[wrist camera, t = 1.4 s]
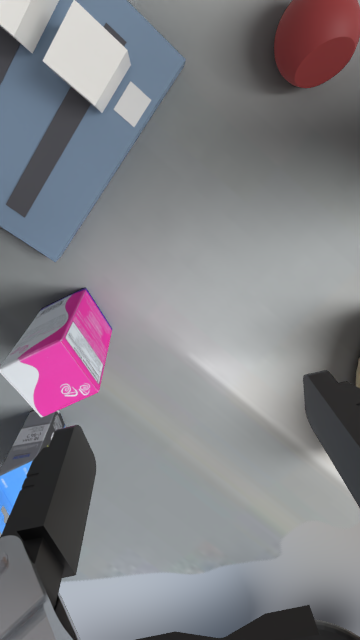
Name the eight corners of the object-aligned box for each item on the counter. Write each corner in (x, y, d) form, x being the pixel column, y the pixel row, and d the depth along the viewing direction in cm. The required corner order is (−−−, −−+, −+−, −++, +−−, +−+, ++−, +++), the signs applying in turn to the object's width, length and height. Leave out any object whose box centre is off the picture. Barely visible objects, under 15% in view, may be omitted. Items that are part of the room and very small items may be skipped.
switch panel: (-2, -117, 22) (-16, -144, 20) (183, 66, 27) (185, 59, 25) (-108, 145, 28) (-127, 143, 26) (60, 256, 33) (54, 262, 31)
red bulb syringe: (326, 24, 28) (376, -101, 20) (345, 84, 28) (404, -20, 20) (257, 45, 28) (279, -72, 20) (275, 104, 28) (304, 9, 20)
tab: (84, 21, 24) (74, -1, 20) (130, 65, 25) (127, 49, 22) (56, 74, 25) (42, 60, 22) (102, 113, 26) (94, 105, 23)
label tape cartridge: (78, 456, 44) (53, 553, 33) (50, 461, 44) (15, 559, 33) (58, 405, 41) (22, 495, 29) (27, 410, 41) (-21, 502, 29)
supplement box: (70, 350, 37) (38, 420, 27) (39, 308, 35) (-8, 367, 25) (115, 330, 37) (99, 394, 26) (86, 285, 34) (58, 336, 24)
